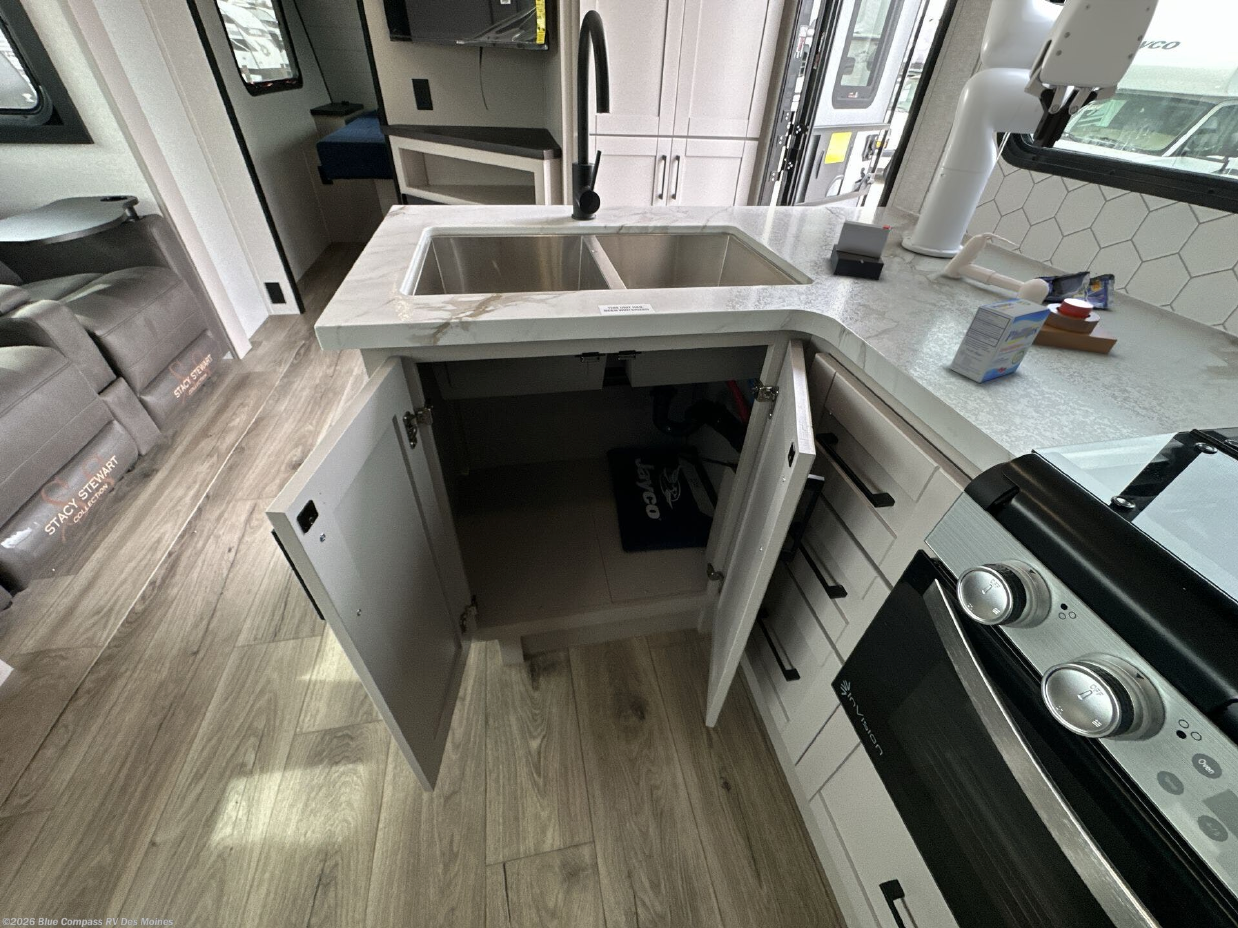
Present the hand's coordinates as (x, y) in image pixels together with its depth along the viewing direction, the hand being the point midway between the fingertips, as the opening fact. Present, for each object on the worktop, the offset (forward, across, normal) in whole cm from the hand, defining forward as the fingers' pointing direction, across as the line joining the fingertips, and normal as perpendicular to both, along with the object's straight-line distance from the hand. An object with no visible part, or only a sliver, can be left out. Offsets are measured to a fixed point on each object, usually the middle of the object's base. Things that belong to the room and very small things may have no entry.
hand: (1041, 146), depth 74 cm
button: (+19, -9, +14) cm, 25 cm away
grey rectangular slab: (+20, +18, -10) cm, 28 cm away
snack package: (+23, -17, -5) cm, 29 cm away
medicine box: (+22, +6, +30) cm, 37 cm away
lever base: (+23, +18, -10) cm, 31 cm away
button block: (+22, -9, +14) cm, 28 cm away
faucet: (+23, -5, -6) cm, 24 cm away
